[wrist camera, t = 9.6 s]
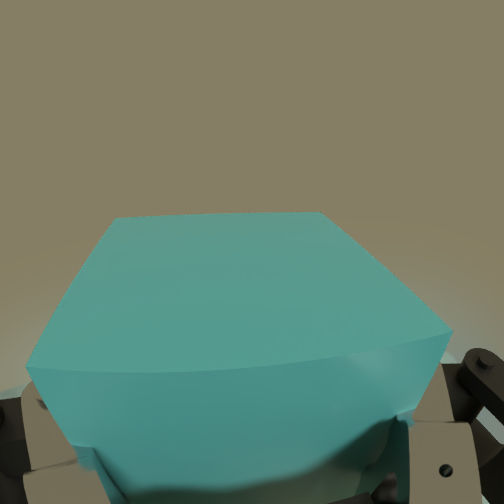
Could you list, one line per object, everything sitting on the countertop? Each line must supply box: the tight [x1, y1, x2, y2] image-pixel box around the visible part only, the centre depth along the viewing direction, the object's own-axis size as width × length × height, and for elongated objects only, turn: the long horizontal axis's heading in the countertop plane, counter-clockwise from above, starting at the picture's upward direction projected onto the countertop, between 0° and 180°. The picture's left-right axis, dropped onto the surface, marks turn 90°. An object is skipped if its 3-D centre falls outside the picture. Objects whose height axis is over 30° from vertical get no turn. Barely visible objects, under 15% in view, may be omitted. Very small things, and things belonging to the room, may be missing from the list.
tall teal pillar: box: [26, 212, 453, 504], centre depth 8 cm, size 6×6×11 cm
